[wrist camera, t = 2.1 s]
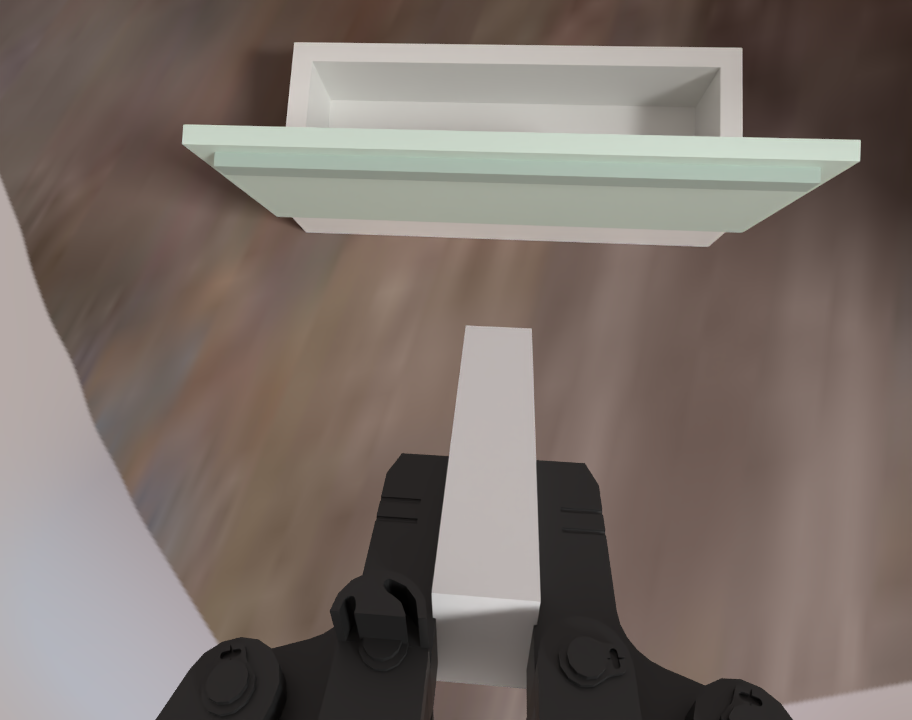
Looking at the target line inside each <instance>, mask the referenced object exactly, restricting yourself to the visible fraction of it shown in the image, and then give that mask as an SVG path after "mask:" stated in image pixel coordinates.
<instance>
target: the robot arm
mask: <svg viewBox="0 0 912 720" xmlns="http://www.w3.org/2000/svg"><path fill="white" fill-rule="evenodd" d="M330 613H331V617H332V621H333V625H334V627H333V628H332V629H330V630H329V631H327V632H326V633H324V634H322V635H319V636H316V637H314V638H311V639H307V640H304V641H300V642H296V643H292V644H288V645H284V646H280V647H276V648H272V649H271V648H270V647H268V646H267V645H266V644H264V643H263V642H261V641H260V640H258V639H251V638H243V637H240V638H236V639H232V640H228V641H224V642H222V643H220V644H218V645H217V646H215V647H213V648H212V649H210V650H209V651H207V652H205V653H204V654H203V655H202V656H201V658H200V659H199V660H198V661H197V662H196V663H195V664H194V665H193V666H192V667H191V669H190V670H189V671H188V673H187V674H186V676H185V677H184V679H183V680H182V682H181V683H180V685H179V686H178V687H177V689H176V690H175V692H174V693H173V695H172V697H171V698H170V700H169V701H168V702H167V704H166V705H165V707H164V708H163V710H162V711H161V713H160V714H159V716H158V717H157V719H156V720H434V716H433V705H434V696H435V687H436V681H446V682H457V683H468V684H480V685H491V686H502V687H513V688H524V689H526V686H527V719H526V720H793V719H792V718H791V717H790V715H789V714H788V713H787V711H786V710H785V709H784V707H783V706H782V705H781V703H780V702H778V701H777V700H776V699H775V698H773V697H772V696H771V695H770V694H768V693H767V692H766V691H765V690H763V689H762V688H760V687H758V686H755V685H753V684H751V683H748V682H746V681H743V680H741V679H722V678H721V679H719V680H717V681H715V682H712V683H710V684H708V685H706V686H705V685H702V684H700V683H698V682H695V681H693V680H691V679H688V678H686V677H684V676H681V675H679V674H677V673H674V672H672V671H670V670H667V669H665V668H663V667H661V666H659V665H657V664H656V663H654V662H652V661H650V660H649V659H648V658H646V657H645V656H644V655H643V654H642V653H640V652H639V651H638V650H637V649H636V648H635V647H634V645H633V644H632V643H631V642H630V640H629V639H628V638H627V636H626V634H625V633H624V631H623V629H622V627H621V625H620V622H619V618H618V614H617V610H616V603H615V596H614V589H613V582H612V575H611V568H610V561H609V554H608V547H607V540H606V536H605V526H604V519H603V515H602V505H601V498H600V491H599V485H598V483H597V482H596V480H595V479H594V477H593V476H592V474H591V472H590V471H589V469H588V468H587V466H586V465H585V463H571V462H555V461H539V460H536V444H535V414H534V384H533V353H532V329H529V328H508V327H486V326H466V329H465V337H464V345H463V352H462V360H461V368H460V376H459V383H458V391H457V399H456V407H455V415H454V422H453V430H452V438H451V446H450V454H449V456H436V455H420V454H404V453H402V454H401V455H400V457H399V458H398V459H397V461H396V462H395V463H394V464H393V466H392V467H391V468H390V470H389V471H388V472H387V474H386V478H385V483H384V487H383V491H382V495H381V501H380V504H379V508H378V512H377V519H376V521H375V525H374V529H373V533H372V538H371V542H370V546H369V550H368V554H367V559H366V563H365V567H364V571H363V575H362V576H360V577H357V578H355V579H353V580H351V581H350V582H349V583H348V584H347V585H346V586H345V587H344V588H343V589H342V590H341V591H340V592H339V593H338V595H337V597H336V599H335V601H334V603H333V605H332V607H331V609H330Z"/></svg>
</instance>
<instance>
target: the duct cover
mask: <svg viewBox="0 0 912 720" xmlns="http://www.w3.org/2000/svg"><path fill="white" fill-rule="evenodd" d="M182 144H183V145H184V146H185V147H186V148H188V149H189V150H190V151H192V152H193V153H194V154H196V155H197V156H198V157H200V158H201V159H202V160H204V161H205V162H206V163H207V164H209V165H210V166H211V167H213V168H214V169H215V170H217V171H218V172H219V173H221V174H222V175H223V176H224V177H226V178H227V179H228V180H230V181H231V182H232V183H234V184H235V185H236V186H238V187H239V188H240V189H241V190H243V191H244V192H245V193H247V194H248V195H249V196H251V197H252V198H253V199H255V200H256V201H257V202H259V203H260V204H261V205H262V206H264V207H265V208H266V209H268V210H269V211H270V212H272V213H273V214H274V215H276V216H277V217H301V218H330V219H359V220H388V221H418V222H447V223H476V224H505V225H535V226H564V227H593V228H622V229H652V230H681V231H710V232H739V233H743V232H744V231H746V230H747V229H749V228H751V227H752V226H754V225H756V224H757V223H759V222H761V221H762V220H764V219H766V218H767V217H769V216H771V215H772V214H774V213H776V212H777V211H779V210H780V209H782V208H784V207H785V206H787V205H789V204H790V203H792V202H794V201H795V200H797V199H799V198H800V197H802V196H804V195H805V194H807V193H809V192H810V191H812V190H814V189H815V188H817V187H818V186H820V185H822V184H823V183H825V182H827V181H828V180H830V179H832V178H833V177H835V176H837V175H838V174H840V173H842V172H843V171H845V170H847V169H848V168H850V167H852V166H853V165H855V164H856V163H858V162H860V147H861V140H840V139H796V138H752V137H709V136H665V135H621V134H577V133H534V132H490V131H446V130H402V129H359V128H315V127H271V126H228V125H184V124H183V137H182Z"/></svg>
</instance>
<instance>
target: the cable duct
mask: <svg viewBox="0 0 912 720" xmlns="http://www.w3.org/2000/svg"><path fill="white" fill-rule="evenodd" d="M286 127H315V128H359V129H402V130H446V131H490V132H534V133H577V134H621V135H665V136H709V137H743V89H742V48H716V47H635V46H553V45H472V44H390V43H308V42H294V51H293V61H292V71H291V80H290V90H289V100H288V110H287V120H286ZM292 218H293V219H294V220H295V221H296V222H297V223H298V224H299V225H300V226H301V227H302V228H303V230H304V231H305V232H310V233H338V234H365V235H393V236H421V237H449V238H476V239H504V240H532V241H560V242H587V243H615V244H643V245H671V246H698V247H709V246H710V245H711V244H712V243H713V242H715V241H716V240H717V239H718V238H719V237H720V236H722V235H723V234H724V233H725V232H710V231H681V230H652V229H622V228H593V227H564V226H535V225H505V224H476V223H447V222H418V221H388V220H359V219H330V218H301V217H292Z"/></svg>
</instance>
